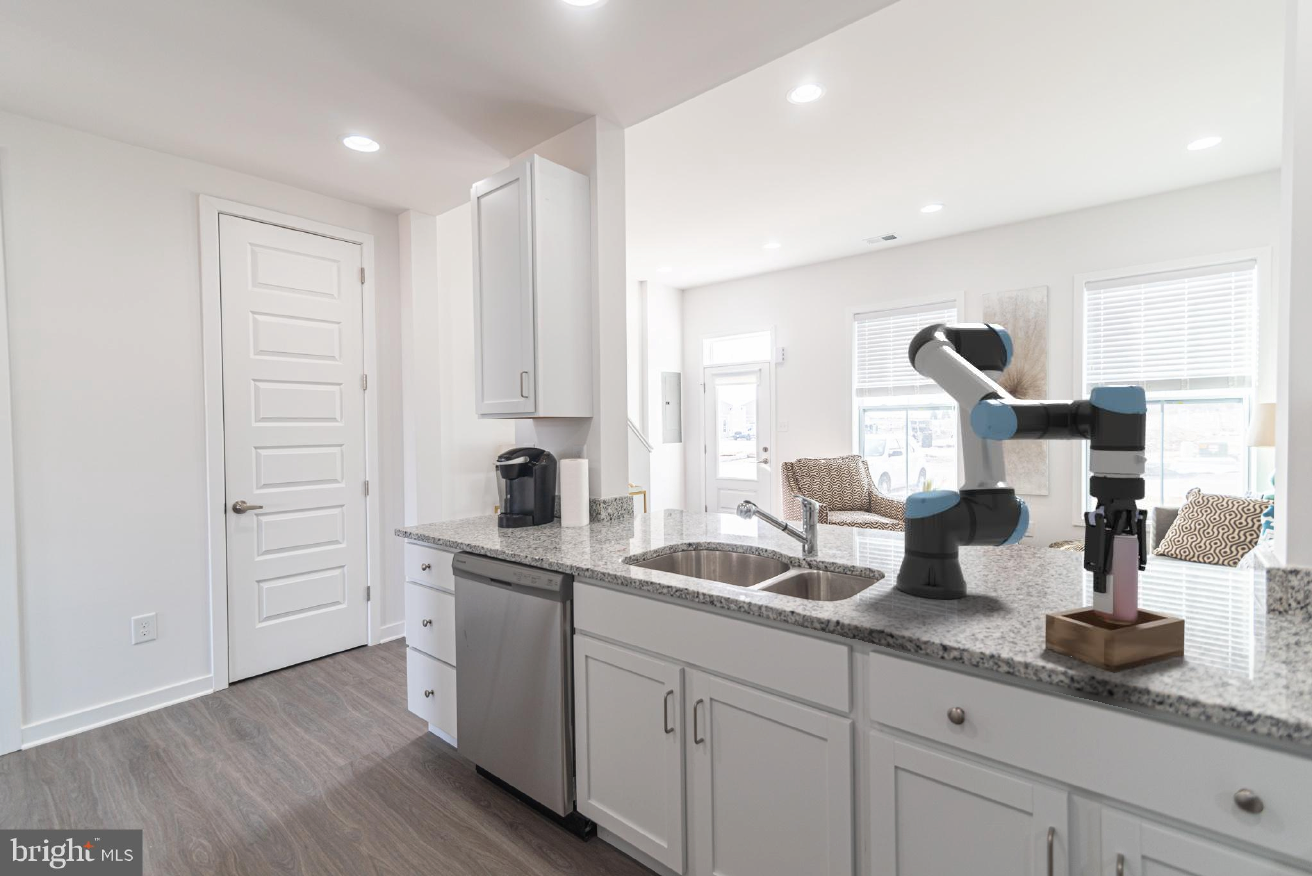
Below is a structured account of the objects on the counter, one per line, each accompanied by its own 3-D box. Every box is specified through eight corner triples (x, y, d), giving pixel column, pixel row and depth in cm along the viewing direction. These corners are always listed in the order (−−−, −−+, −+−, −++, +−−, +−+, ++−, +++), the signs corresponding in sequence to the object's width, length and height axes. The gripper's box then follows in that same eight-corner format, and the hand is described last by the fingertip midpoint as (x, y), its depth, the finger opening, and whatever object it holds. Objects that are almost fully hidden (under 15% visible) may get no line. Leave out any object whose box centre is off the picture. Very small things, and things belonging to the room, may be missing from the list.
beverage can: (1090, 612, 106) (1091, 529, 105) (1132, 617, 103) (1133, 531, 102) (1097, 622, 100) (1098, 534, 100) (1141, 627, 97) (1142, 537, 97)
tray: (1045, 648, 103) (1045, 614, 103) (1113, 633, 111) (1113, 601, 110) (1114, 672, 93) (1114, 635, 93) (1184, 654, 100) (1184, 619, 100)
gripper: (1105, 479, 94) (1103, 622, 94) (1175, 475, 101) (1173, 608, 102) (1058, 475, 101) (1056, 609, 101) (1126, 472, 108) (1124, 597, 109)
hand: (1115, 608), depth 102 cm, fingers closed on beverage can, 6 cm apart
